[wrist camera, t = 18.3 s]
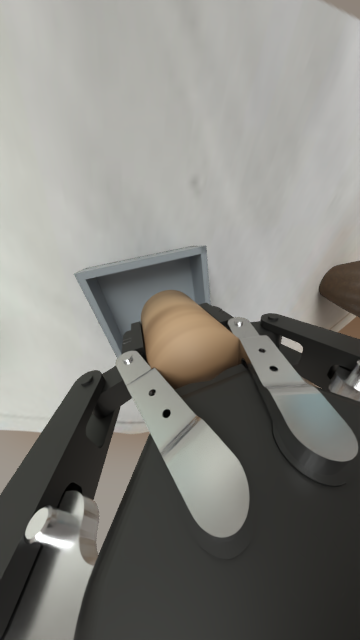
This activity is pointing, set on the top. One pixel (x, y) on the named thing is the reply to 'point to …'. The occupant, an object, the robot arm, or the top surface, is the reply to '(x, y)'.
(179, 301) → the tan bread loaf
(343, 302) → the plant pot
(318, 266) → the top surface
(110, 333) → the tote
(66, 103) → the top surface
